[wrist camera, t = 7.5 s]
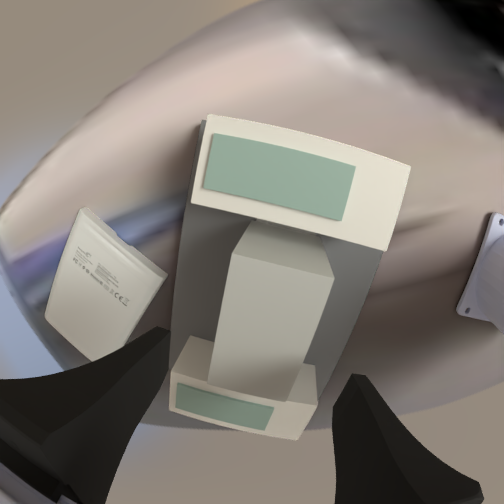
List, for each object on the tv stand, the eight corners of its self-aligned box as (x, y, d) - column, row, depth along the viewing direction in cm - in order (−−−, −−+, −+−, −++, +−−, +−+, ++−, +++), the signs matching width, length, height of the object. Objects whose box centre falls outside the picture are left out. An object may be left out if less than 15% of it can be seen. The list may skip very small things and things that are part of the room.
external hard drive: (52, 309, 24) (90, 204, 20) (114, 363, 24) (172, 271, 20) (42, 316, 22) (77, 208, 18) (106, 373, 23) (163, 281, 19)
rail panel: (400, 170, 16) (439, 177, 11) (315, 396, 22) (317, 445, 17) (206, 121, 16) (174, 109, 11) (171, 361, 22) (147, 404, 17)
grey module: (320, 237, 17) (335, 278, 11) (289, 337, 19) (286, 402, 13) (250, 220, 17) (230, 253, 11) (228, 322, 19) (205, 383, 13)
